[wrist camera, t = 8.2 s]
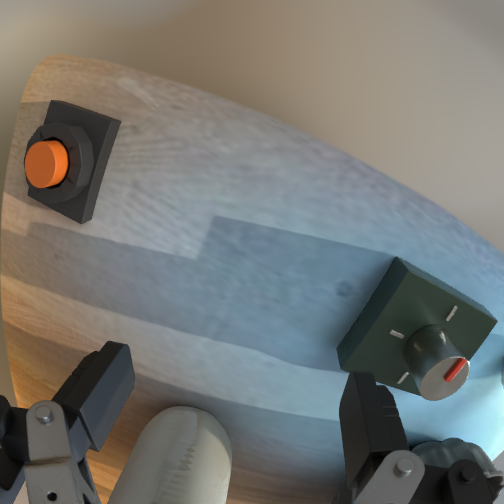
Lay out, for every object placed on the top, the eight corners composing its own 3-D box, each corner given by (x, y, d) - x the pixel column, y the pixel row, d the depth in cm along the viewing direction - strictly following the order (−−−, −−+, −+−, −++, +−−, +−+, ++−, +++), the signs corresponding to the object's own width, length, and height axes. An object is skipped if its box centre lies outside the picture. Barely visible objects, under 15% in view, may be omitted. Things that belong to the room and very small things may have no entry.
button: (43, 135, 21) (30, 136, 19) (74, 147, 21) (61, 149, 19) (34, 176, 22) (20, 179, 20) (63, 190, 22) (50, 195, 20)
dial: (428, 372, 25) (445, 407, 20) (394, 359, 24) (409, 397, 20) (457, 334, 23) (481, 367, 19) (424, 317, 23) (446, 352, 18)
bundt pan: (327, 435, 32) (332, 507, 23) (510, 398, 29) (540, 448, 20) (314, 517, 41) (314, 563, 31) (451, 493, 37) (462, 532, 28)
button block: (62, 100, 23) (37, 99, 19) (121, 121, 23) (99, 120, 20) (38, 191, 26) (14, 199, 22) (91, 219, 26) (69, 230, 23)
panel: (335, 348, 28) (340, 370, 25) (396, 255, 25) (409, 270, 22) (427, 382, 29) (436, 401, 26) (483, 306, 25) (499, 322, 22)
